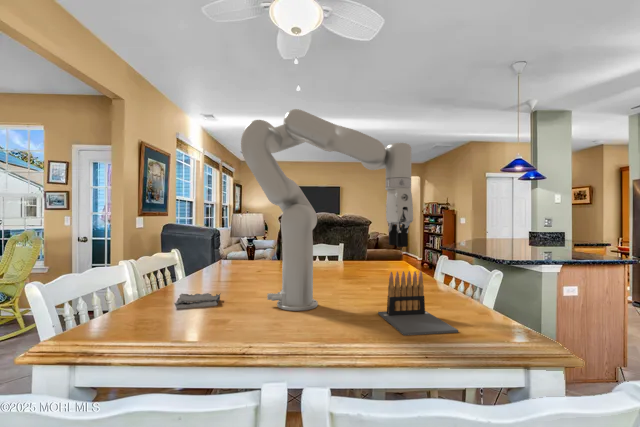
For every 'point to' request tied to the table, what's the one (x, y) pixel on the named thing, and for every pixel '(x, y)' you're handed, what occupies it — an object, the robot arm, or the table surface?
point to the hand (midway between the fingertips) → (397, 245)
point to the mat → (418, 324)
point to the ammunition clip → (405, 295)
